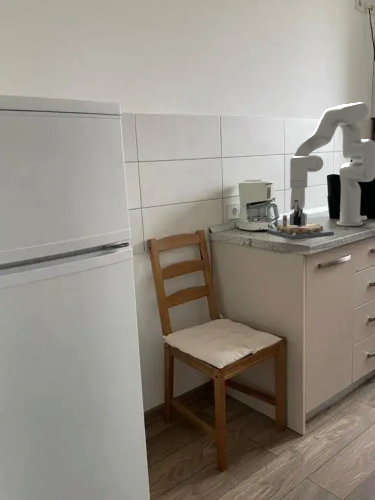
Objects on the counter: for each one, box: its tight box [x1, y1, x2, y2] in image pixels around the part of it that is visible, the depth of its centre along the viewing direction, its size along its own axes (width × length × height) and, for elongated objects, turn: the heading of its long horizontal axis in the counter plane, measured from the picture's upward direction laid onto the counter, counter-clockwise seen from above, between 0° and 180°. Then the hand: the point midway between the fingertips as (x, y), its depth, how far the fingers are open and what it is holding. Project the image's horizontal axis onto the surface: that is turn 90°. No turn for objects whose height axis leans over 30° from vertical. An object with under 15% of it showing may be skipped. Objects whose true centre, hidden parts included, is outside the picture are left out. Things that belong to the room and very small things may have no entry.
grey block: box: [289, 211, 308, 226], centre depth 197 cm, size 4×7×6 cm, turn 65°
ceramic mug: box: [265, 219, 280, 229], centre depth 216 cm, size 11×8×8 cm
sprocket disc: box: [276, 214, 324, 234], centre depth 203 cm, size 21×21×7 cm
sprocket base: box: [266, 227, 335, 240], centre depth 204 cm, size 22×22×2 cm
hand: (298, 223), depth 198 cm, fingers open, 4 cm apart
